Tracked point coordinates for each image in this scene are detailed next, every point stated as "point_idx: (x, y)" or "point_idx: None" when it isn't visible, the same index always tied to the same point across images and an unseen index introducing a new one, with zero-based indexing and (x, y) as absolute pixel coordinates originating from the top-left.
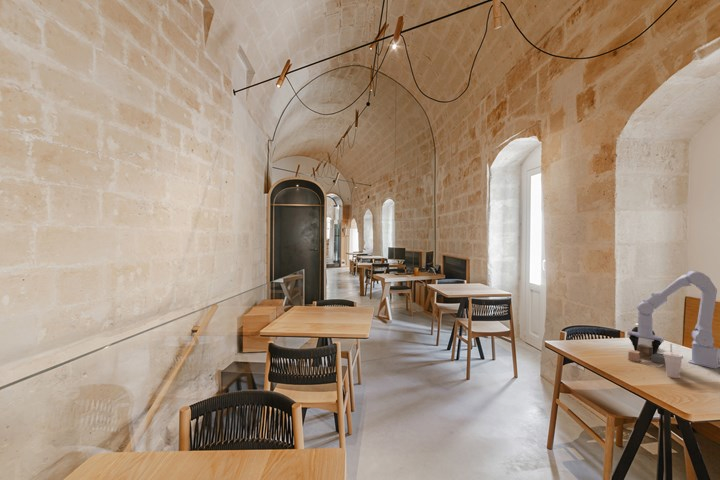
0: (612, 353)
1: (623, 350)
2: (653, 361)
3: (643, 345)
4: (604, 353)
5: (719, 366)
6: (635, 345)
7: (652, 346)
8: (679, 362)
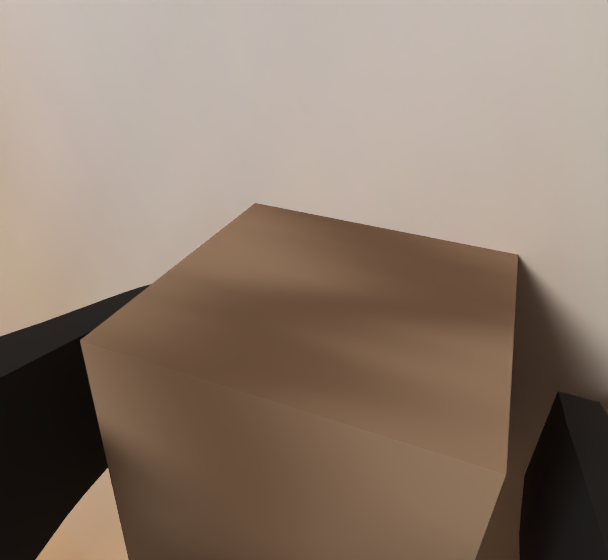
0: (80, 505)
1: (29, 266)
2: None
3: (219, 524)
4: (56, 541)
5: None
6: (88, 468)
7: (473, 504)
8: None
